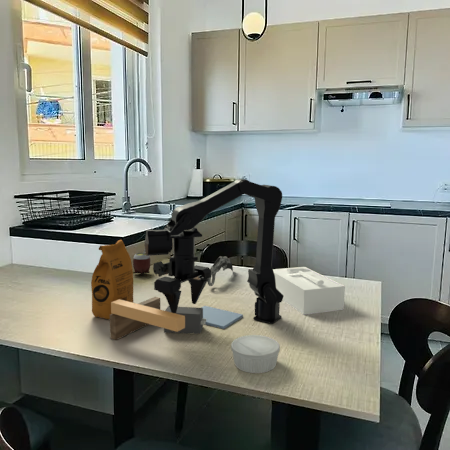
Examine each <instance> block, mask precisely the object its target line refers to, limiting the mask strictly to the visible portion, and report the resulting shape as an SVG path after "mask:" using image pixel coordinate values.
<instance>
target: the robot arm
mask: <svg viewBox="0 0 450 450" xmlns="http://www.w3.org/2000/svg"><path fill="white" fill-rule="evenodd" d="M243 195H245V196H248V197H251V198H254V203H255V208H256V212H257V215H258V221H257V235H256V237H257V238H256V252H255V253H256V255H255V257H256V258H255V263H254V266H253V267H252V268H248V279H247V281H246V282H247V283H248V285H249V288H250V289H251V290H252V291H253V292H254V295H255V296H256V299H255V300H256V301H255V302H254V316H253V320H255V321H259V322H264V323H268V324H275V323H276V322H278V321H279V320H280V319H282V315H280V307H281V303H282V302H283V301H282V299H283V295H282V294H281V293H280V292H279V291H278V290H277V289H276V281H275V275H274V272H273V269H274V268H273V253H274V251H273V249H274V237H275V224H276V223H275V221H276V216H277V214H278V213H279V210H280V209H281V205H282V200H283V192H282V190H281V189H280V188H279V187H278V186H275V185H270V184H259V183H255V182H252V181H249V180H248V179H244V178H237V179H236V180H234V181H232V182H231V183H229V184H227V185H226V186H224V187H222V188H220V189H218V190H217V191H215V192H213V193H211V194H210V195H207V196H206V197H205V196H204V198H201V199H200V200H197V201H193V202H189V203H185V204H183V205H180V206H177V207H176V208H174V209H173V210H172V212H171V217H170V219H169V221H168V222H167V224H166V225H165V226H164V228H163V229H146V231H145V232H146V233H145V240H144V249H145V253H146V256H150V257H151V256H165V255H169V253H173V256H170V258H169V261H168V262H163V261H162V260H161V261H157V262H154V263H153V268H152V269H153V273H154V274H155V275H158V277H159V278H157V279H156V280H155V281H154V282H153V285H154V286H153V289H154V291H157V292H158V293H162V294H163V296H164V297H165V299H166V302H167V304H168V306H169V307H170V309H171V312H172V313H175V314H176V311H177V308H178V307H179V303H180V299H181V295H182V290H180V289H181V288H182V284H183V283H185V282H188V283H189V285H190V294H191V295H190V297H191V304H193V305H196V304H197V302H198V300H199V298H200V296H201V294H202V292H203V290H204V288H205V286H206V284H208V282H207V281H209V279H208V278H211V279H212V275H211V270H210V267H209V266H203V265H195V263H196V262H197V261H198V260H199V256H195V255H196V253H195V249H196V248H195V246H196V245H195V242H196V241H195V238H201V237H203V233H201V232H200V231H199V230H198V228H197V227H196V226H197V225H198V224H200V223H201V222H202V221H203V220H204V219H205V217H206V216H208V215H209V214H210V213H212V212H214V211H216V210H218V209H220V208H221V207H223V206H225V205H227V204H228V203H230V202H232V201H234V200H235V199H238V198H239V197H241V196H243ZM172 250H173V252H172ZM165 275H168V276H165Z"/></svg>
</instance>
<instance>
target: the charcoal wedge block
mask: <svg viewBox="0 0 450 450" xmlns="http://www.w3.org/2000/svg"><path fill="white" fill-rule="evenodd" d="M164 311H168V312H171V309H170V307H169V305H168V306H167V307H166V308H165V310H164ZM171 313H172V312H171ZM176 314H179V315H183V316H185V328H184V329H182V330H180V331H178V332H176V331H173V330H169V329H165V328H163V333H165V332H166V333H167V334H168V333H169V334H170V333H171V334H188V333H194V334H193V335H195V334H196V335H200V334H201V333H202V330H203V328H204V326H206V325H205V322H206V318H203V308H201V307H194V306H193V307H192V306H191V307H190V306H178V308H177V311H176Z"/></svg>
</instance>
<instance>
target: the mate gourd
mask: <svg viewBox="0 0 450 450" xmlns="http://www.w3.org/2000/svg"><path fill="white" fill-rule="evenodd" d="M132 268H133V270H134V271H133V274H140V276H143V274H150V269H151V256H146V253H145V248H144V249H143V252H137V253H135V254H134V255H133V258H132Z"/></svg>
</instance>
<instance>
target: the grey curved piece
mask: <svg viewBox="0 0 450 450" xmlns="http://www.w3.org/2000/svg"><path fill="white" fill-rule="evenodd" d="M233 268H234V267H233V263H232V260H231V257H229V258H228V256H221V255H220V256H219V257H218V258H217V259H216V260H215V261H214V263H213V264H212V266H210V267H209V269H210V270H211V278H208V279H209V281H207V285H208V286H209V287H213V286H214V284H215V282H216V274H217V273H218V272H220V271H221V269H222V271H226V270H227V269H228V270H231V271H232V272H233V271H234V269H233Z"/></svg>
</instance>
